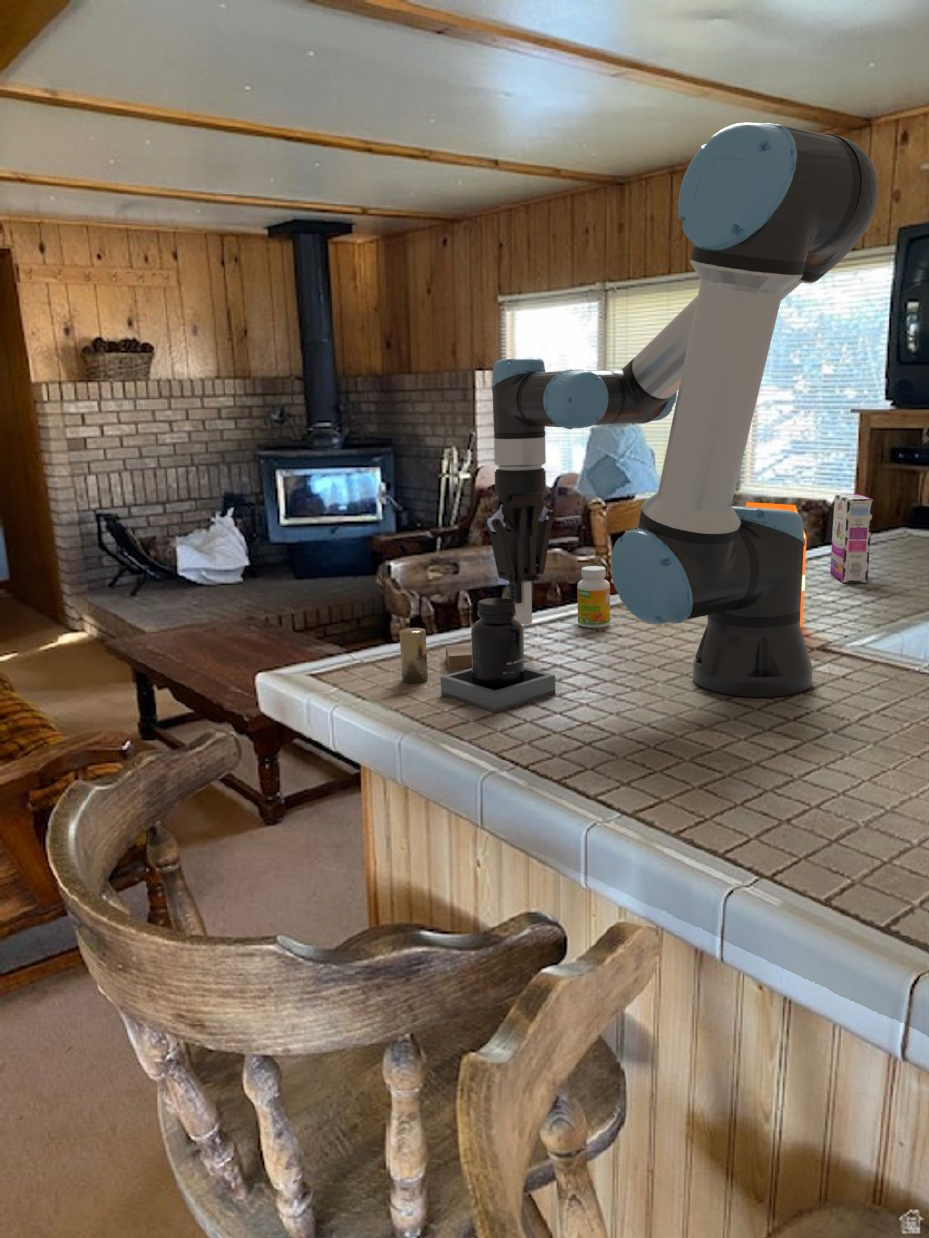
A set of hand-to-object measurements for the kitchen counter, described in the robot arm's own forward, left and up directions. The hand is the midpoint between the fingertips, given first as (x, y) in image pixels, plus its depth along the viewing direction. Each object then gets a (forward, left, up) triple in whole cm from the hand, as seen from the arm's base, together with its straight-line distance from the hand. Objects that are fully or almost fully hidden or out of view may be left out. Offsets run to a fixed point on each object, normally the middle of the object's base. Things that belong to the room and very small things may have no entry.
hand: (522, 622), depth 145 cm
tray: (-14, +18, -4) cm, 23 cm away
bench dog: (0, +21, -4) cm, 22 cm away
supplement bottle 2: (+3, -19, -5) cm, 20 cm away
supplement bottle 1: (-14, +18, -4) cm, 23 cm away
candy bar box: (-9, -81, -5) cm, 82 cm away
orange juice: (-19, -36, -5) cm, 41 cm away
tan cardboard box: (0, +10, -5) cm, 11 cm away
